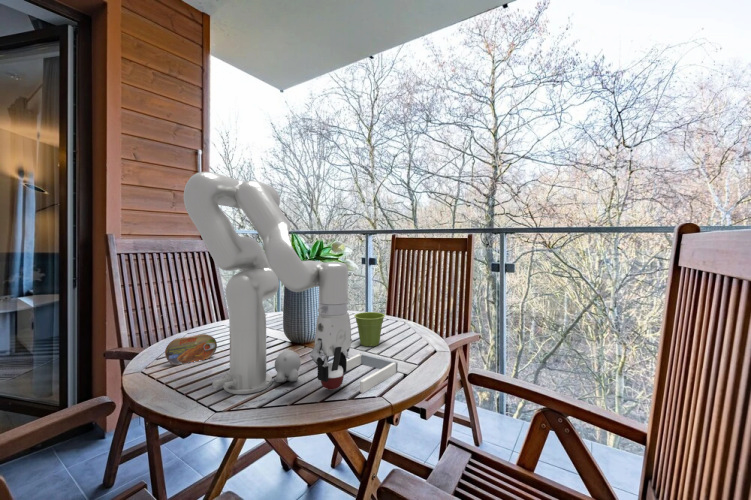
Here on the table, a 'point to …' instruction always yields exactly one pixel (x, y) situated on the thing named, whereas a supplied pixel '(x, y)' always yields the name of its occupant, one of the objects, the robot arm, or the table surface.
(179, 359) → the tin
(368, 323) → the plant pot
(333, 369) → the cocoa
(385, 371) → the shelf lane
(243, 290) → the robot arm
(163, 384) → the table surface
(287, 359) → the chubby cartoon animal
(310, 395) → the table surface
